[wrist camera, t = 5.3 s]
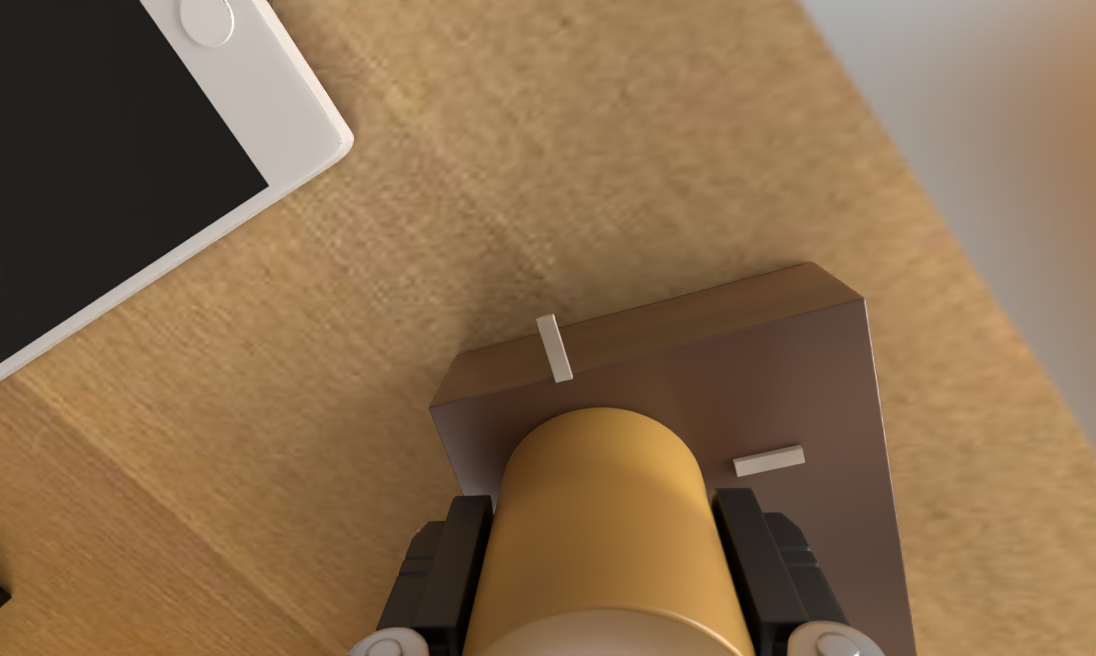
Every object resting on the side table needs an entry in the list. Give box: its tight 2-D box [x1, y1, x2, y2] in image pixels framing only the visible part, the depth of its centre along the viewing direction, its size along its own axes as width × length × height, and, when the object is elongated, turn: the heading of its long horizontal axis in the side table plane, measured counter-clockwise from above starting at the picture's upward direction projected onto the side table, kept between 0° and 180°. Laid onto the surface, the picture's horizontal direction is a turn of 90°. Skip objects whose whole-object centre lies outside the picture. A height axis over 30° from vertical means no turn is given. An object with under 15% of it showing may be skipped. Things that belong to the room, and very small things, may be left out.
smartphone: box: [0, 0, 354, 381], centre depth 15 cm, size 7×15×1 cm, turn 120°
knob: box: [462, 407, 756, 656], centre depth 11 cm, size 4×4×6 cm
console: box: [416, 262, 917, 656], centre depth 15 cm, size 11×10×3 cm
